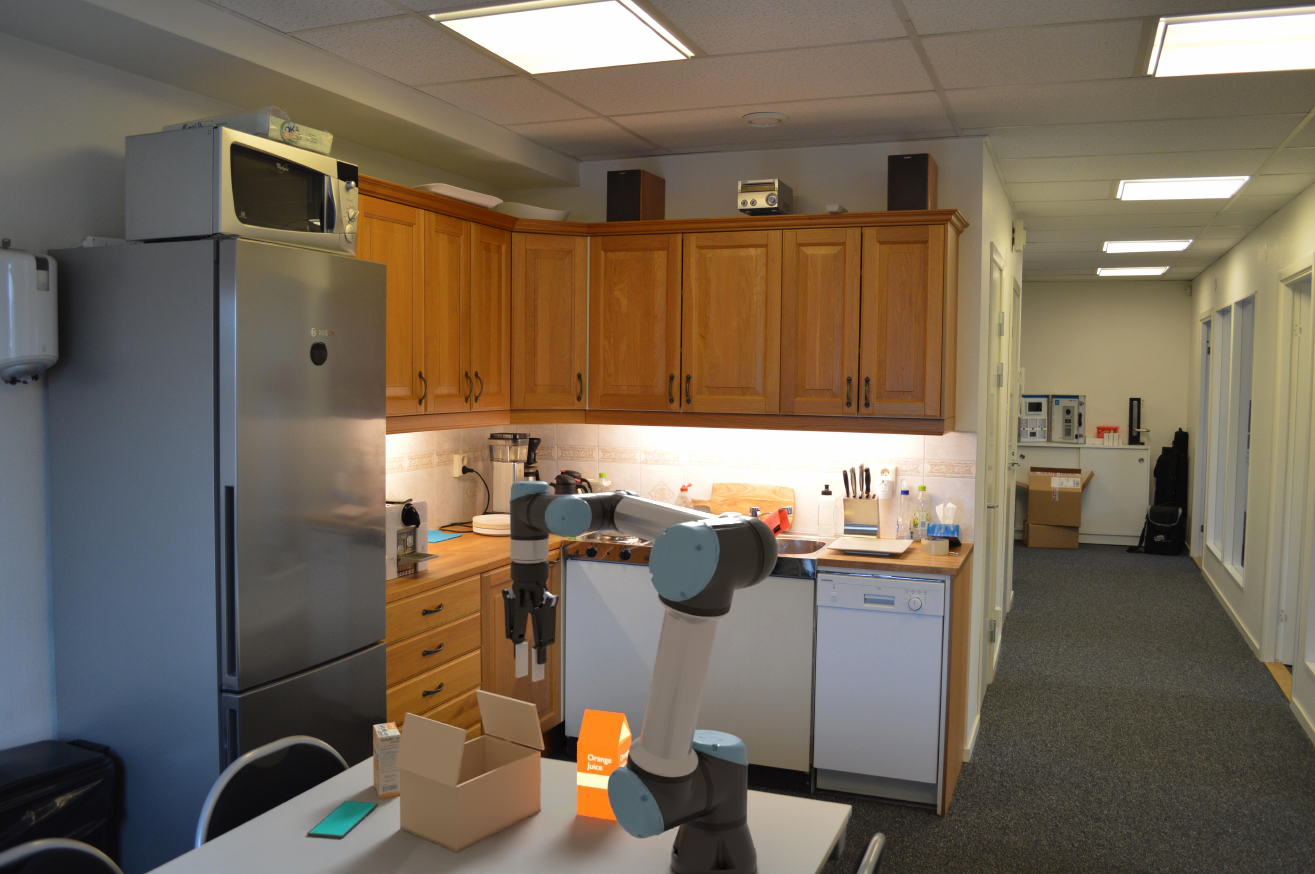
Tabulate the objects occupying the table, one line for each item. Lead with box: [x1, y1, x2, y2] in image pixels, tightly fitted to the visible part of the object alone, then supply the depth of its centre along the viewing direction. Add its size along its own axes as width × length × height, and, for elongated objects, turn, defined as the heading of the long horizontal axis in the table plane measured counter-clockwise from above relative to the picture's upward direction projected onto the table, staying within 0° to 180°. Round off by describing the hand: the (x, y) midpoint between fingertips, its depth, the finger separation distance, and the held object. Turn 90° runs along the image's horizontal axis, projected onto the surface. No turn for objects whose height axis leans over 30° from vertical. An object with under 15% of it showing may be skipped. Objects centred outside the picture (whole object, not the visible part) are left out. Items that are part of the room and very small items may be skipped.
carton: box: [399, 734, 542, 853], centre depth 182 cm, size 16×22×12 cm
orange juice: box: [576, 709, 632, 822], centre depth 187 cm, size 8×9×20 cm
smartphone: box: [306, 800, 379, 840], centre depth 182 cm, size 7×1×15 cm
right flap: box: [475, 689, 546, 751], centre depth 190 cm, size 17×10×1 cm
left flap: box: [395, 712, 468, 787], centre depth 174 cm, size 17×10×1 cm
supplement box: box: [372, 721, 402, 800], centre depth 196 cm, size 8×5×13 cm, turn 25°
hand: (529, 677), depth 183 cm, fingers open, 4 cm apart
